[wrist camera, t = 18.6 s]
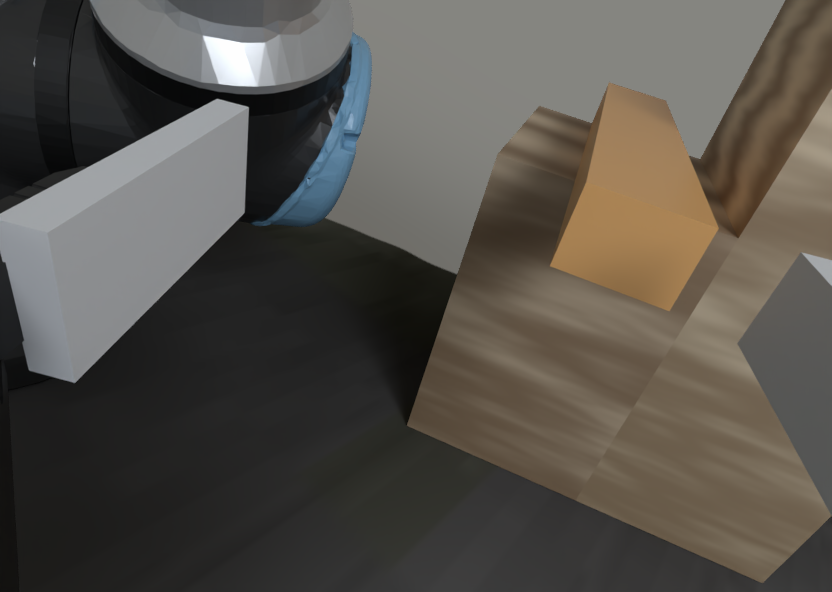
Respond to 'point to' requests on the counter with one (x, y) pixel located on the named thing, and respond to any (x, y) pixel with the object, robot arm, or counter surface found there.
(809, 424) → the robot arm
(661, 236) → the orange box
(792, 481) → the wooden stepped block
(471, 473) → the counter surface
